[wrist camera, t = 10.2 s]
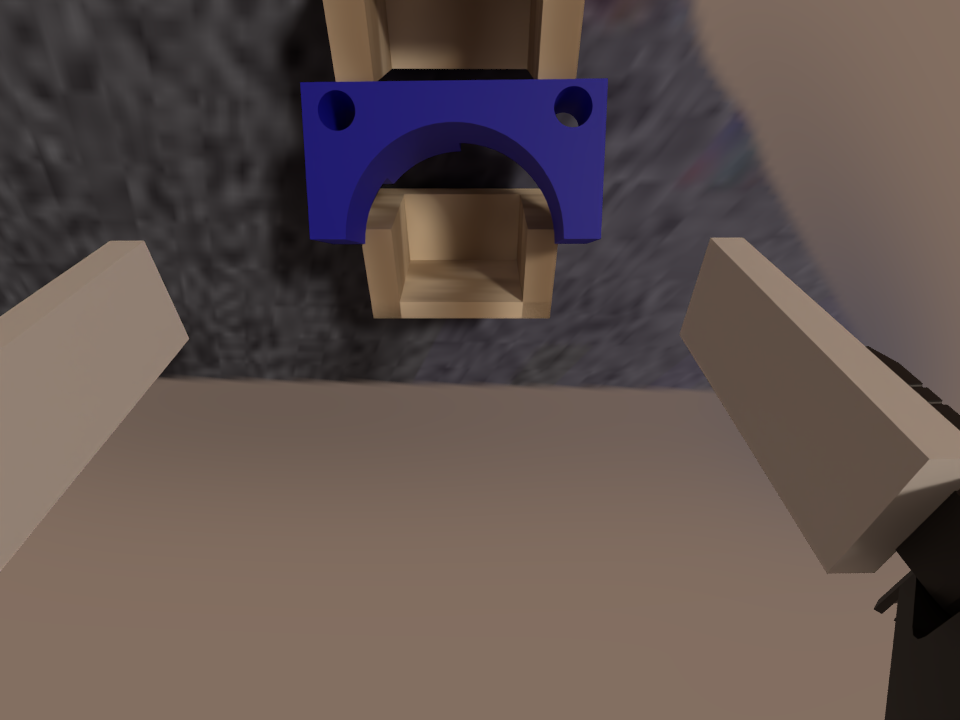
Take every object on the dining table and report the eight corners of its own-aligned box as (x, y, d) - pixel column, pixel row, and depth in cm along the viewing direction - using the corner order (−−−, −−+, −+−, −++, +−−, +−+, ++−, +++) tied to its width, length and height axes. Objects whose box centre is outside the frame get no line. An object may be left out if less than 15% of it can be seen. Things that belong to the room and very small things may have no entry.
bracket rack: (390, 267, 30) (373, 318, 25) (347, -70, 20) (308, -90, 16) (538, 267, 30) (549, 318, 25) (566, -69, 20) (594, -89, 16)
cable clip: (337, 119, 23) (344, 246, 24) (300, 82, 18) (310, 239, 20) (585, 117, 23) (580, 245, 24) (607, 78, 18) (600, 238, 19)
